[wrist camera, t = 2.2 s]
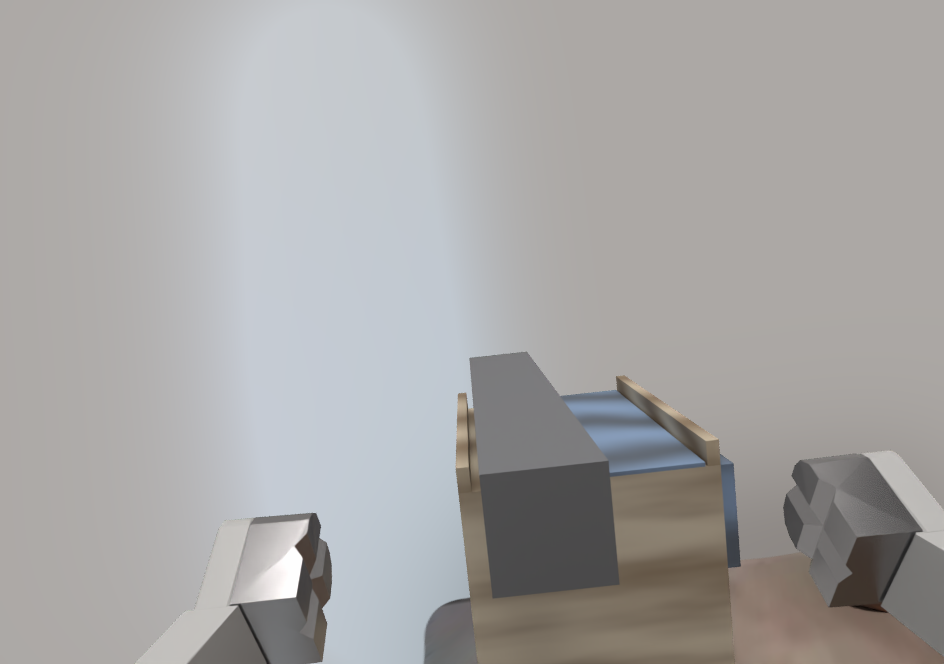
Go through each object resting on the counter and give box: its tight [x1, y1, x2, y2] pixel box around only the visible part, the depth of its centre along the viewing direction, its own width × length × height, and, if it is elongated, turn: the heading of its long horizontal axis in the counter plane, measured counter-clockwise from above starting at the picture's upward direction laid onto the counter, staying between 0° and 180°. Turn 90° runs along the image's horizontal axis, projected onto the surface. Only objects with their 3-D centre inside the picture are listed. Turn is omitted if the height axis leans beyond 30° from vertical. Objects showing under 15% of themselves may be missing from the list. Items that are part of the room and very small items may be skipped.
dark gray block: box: [470, 352, 620, 599], centre depth 34 cm, size 26×4×4 cm, turn 1°
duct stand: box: [456, 376, 741, 664], centre depth 41 cm, size 18×13×27 cm
